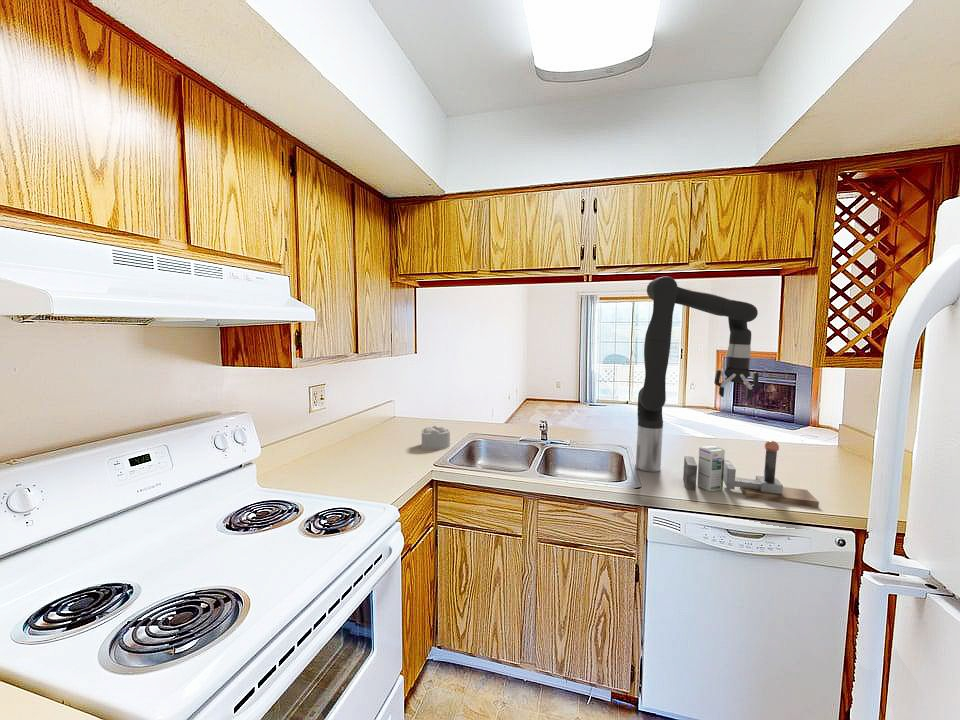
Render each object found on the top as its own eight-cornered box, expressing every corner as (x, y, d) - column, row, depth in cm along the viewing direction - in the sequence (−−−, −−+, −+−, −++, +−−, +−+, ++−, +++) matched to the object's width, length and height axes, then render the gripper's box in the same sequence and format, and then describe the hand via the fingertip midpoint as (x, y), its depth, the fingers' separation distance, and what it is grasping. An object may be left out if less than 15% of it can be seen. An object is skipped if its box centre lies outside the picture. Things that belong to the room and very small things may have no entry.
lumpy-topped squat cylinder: (422, 443, 197) (422, 425, 196) (449, 442, 198) (449, 424, 198) (421, 450, 187) (421, 431, 186) (450, 449, 188) (450, 430, 187)
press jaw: (727, 488, 141) (730, 440, 139) (721, 478, 150) (725, 433, 149) (783, 496, 135) (787, 446, 134) (774, 484, 145) (778, 438, 143)
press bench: (686, 489, 146) (687, 464, 145) (683, 479, 155) (684, 455, 154) (818, 507, 132) (821, 480, 131) (806, 495, 142) (808, 469, 141)
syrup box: (709, 491, 144) (712, 451, 142) (696, 485, 150) (699, 446, 148) (722, 490, 145) (725, 449, 144) (709, 483, 151) (712, 444, 150)
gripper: (719, 355, 158) (715, 397, 160) (763, 358, 153) (758, 401, 155) (715, 354, 165) (712, 394, 167) (757, 356, 160) (753, 397, 162)
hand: (734, 397), depth 161 cm, fingers open, 8 cm apart
